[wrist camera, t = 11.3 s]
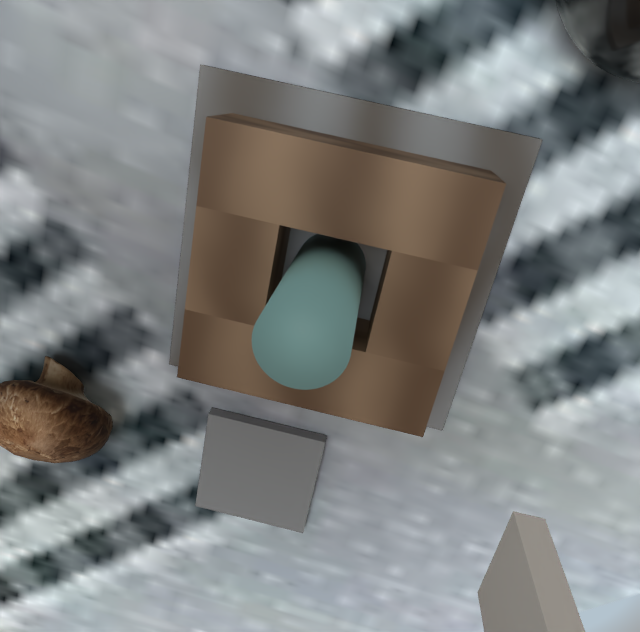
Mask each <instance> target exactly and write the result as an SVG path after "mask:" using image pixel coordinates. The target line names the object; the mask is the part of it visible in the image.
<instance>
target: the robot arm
mask: <svg viewBox="0 0 640 632" xmlns="http://www.w3.org/2000/svg"><path fill="white" fill-rule="evenodd" d="M478 597H479V603H480V609H481V615H482V620H483V626H484V632H585V630H584V627H583V624H582V622H581V619H580V616H579V613H578V610H577V607H576V605H575V602H574V599H573V596H572V593H571V591H570V588H569V585H568V582H567V579H566V577H565V574H564V571H563V568H562V565H561V563H560V560H559V557H558V554H557V551H556V548H555V546H554V543H553V540H552V537H551V534H550V532H549V529H548V526H547V523H546V520H545V519H543V518H539V517H535V516H530V515H526V514H522V513H518V512H514V511H513V513H512V515H511V518H510V520H509V522H508V525H507V527H506V529H505V531H504V534H503V536H502V538H501V540H500V543H499V545H498V547H497V550H496V552H495V554H494V556H493V559H492V561H491V563H490V565H489V568H488V570H487V572H486V575H485V577H484V579H483V581H482V584H481V586H480V588H479V590H478Z"/></svg>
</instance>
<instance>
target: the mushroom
mask: <svg viewBox="0 0 640 632" xmlns="http://www.w3.org/2000/svg"><path fill="white" fill-rule="evenodd" d="M112 427H113V421H112V417H111V415H110V414H108V413H107V412H106V411H105V410H104V409H102V408H101V407H99V406H98V405H95V404H93V403H91V402H90V401H89V400H88V399H87V398H86V396H85V395H84V386H83V384H82V382H81V381H80V380H79V379H78V378H77V377H76V376H75V375H74V374H73V373H71V372H70V371H69V370H68V369H67V368H65V367H64V366H63V365H61V364H60V363H58V362H57V361H55V360H54V359H52V358H50V357H47V356H45V361H44V367H43V372H42V374H41V376H40V379H39V380H38V381H36V382H33V381H28V380H12V381H5V382H3V383H1V384H0V446H2V447H3V448H5V449H7V450H8V451H10V452H11V453H13V454H14V455H18V456H21V457H25V458H29V459H32V460H37V461H44V462H51V463H62V462H73V461H77V460H81V459H83V458H86V457H89V456H91V455H93V454H94V453H96V452H98V451H99V450H100V449H101V448H102V447H103V446H104V445H105V443H106V442H107V440H108V438H109V435H110V433H111V430H112Z"/></svg>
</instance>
